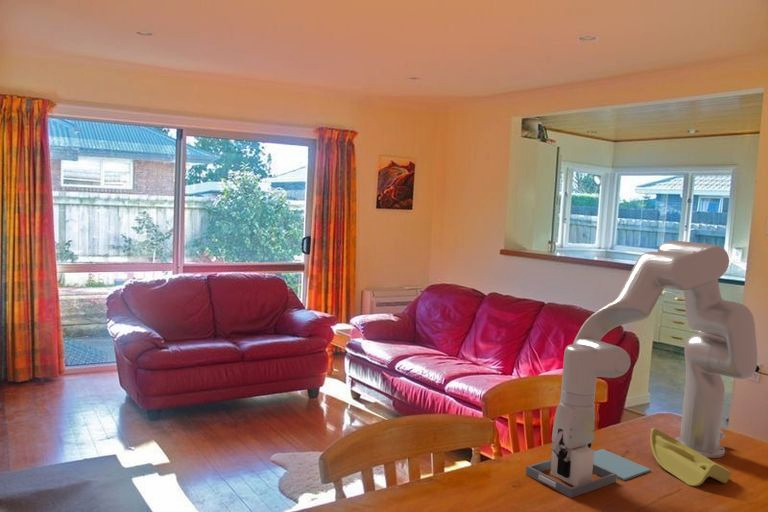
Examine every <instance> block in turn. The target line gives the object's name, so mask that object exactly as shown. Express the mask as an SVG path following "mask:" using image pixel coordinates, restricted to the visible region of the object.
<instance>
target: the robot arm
mask: <svg viewBox="0 0 768 512" xmlns="http://www.w3.org/2000/svg"><path fill="white" fill-rule="evenodd" d="M729 265H730V257H729V254H728V252H727V250H726V249H725V248H724V247H722V246H720V245H718V244H712V243H711V244H710V243H702V242H694V241H693V242H690V241H683V240H667V241H665V242H663V243H661V244H660V245H659V246H658V248H657V251H648V252H644V253H643V254H641V255H640V256H639V257H638V258H637V260H636V262H635V263H634V265H633V267H632V268H631V270H630V273H629V274H628V275H627V278H626V279H625V281H624V283H623V285H622V287H621V289H620V290H619V292H618V294H617V296H616V297H615V298H614V300H613V301H611V302H610V303H608V304H605V306H602V307H601V308H599V310H597V311H596V312H595V313H593V314H591V315H590V316H589V317H588V318H587V319H585V321H584V323H582V325H581V327H580V329H579V330H578V333H577V334H576V336H575V338H574V340H573V343H572V344H568V345H567V346H566V347H565V349H564V351H563V352H564V354H563V364H562V365H563V366H562V374H561V375H562V377H561V391H560V400H559V403H558V404H557V407H556V410H555V414H554V419H553V427H552V434H551V441H552V444H551V446H550V449H551V451H552V450H553V451H554V452H555V454H556V456H557V458H558V466H557V473H558V474H559V475H561V476H563V477H565V478H569V475H570V463H571V461H569V458H570V454H571V450H572V449H573V448H577V447H580V446H586V447H589V448H591V447H592V445H593V443H594V442H595V441H596V436H595V424H596V416H595V411H596V410H595V398H596V397H595V396H596V384H597V378H609V379H616V378H620V377H621V376H624V375H625V374H626V373H628V371H629V369H630V368H631V363H632V362H631V357H630V354H629V353H628V352H627V351H626V350H625V349H623V348H622V347H620V346H618V345H614V344H611V343H607V342H605V341H601V340H602V339H603V337H604V336H606V334H607V333H608V332H610V331H612V330H613V329H615V328H617V327H620V326H623V325H628V324H632V323H636V322H641V321H645V320H646V319H647V318H649V317H650V315H651V313H652V311H653V310H654V308H655V306H656V304H657V301H658V300H659V298H660V296H661V294H662V293H663V291H664V290H665V289H671V290H675V291H676V290H677V291H683V299H684V306H685V313H686V314H685V315H686V319H687V320H686V321H687V324H688V327H690V329H692V330H693V331H696V332H699V333H696V334H693V335H691V336H689V337H688V339H686V342H685V345H684V362H685V382H684V383H685V384H684V393H683V403H682V411H681V412H682V413H681V423H680V433H679V436H677V437H674V439H675V440H677V441H679V442H681V443H682V444H684V445H686V446H688V447H689V448H691V449H693V450H694V451H696V452H698V453H700V454H701V455H703V456H705V457H706V458H708V459H717V458H719V459H720V458H722V457H724V456H725V454H726V450H725V448H724V447H723V446H722V445H720V440H722V439H724V438H725V437H726V433H725V432H724V431H722V430H721V428H722V420H723V418H722V417H723V409H724V400H725V393H726V392H725V390H726V389H725V384H724V380H723V378H722V376H725V377H729V378H733V379H735V380H736V379H737V380H747V379H749V378H751V377H752V376H753V375H754V373H755V371H756V369H757V367H758V346H757V336H756V335H757V333H756V325H755V317H754V316H753V315H754V314H753V313H752V311H751V310H750V308H748V306H746V305H745V304H743V303H739V302H736V301H731V300H725V299H724V298H723V297H722V294H721V288H720V283H719V279H720V278H721V277H723V276H724V275H725V274H726V272H727V271H728V268H729ZM721 375H722V376H721ZM564 443H565V445H564ZM563 449H566V453H564V452H563Z"/></svg>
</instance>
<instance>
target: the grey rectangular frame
mask: <svg viewBox="0 0 768 512" xmlns="http://www.w3.org/2000/svg"><path fill="white" fill-rule="evenodd" d="M551 459H552V458H551ZM551 459H548V460H544V461H540V462H537V463H533V464H531V465H530V464H529V465H527V466H526V467H525V475H526V476H528V477H530V478H532V479H534V480H535V481H538V482H540V483H541V484H544V485H545V486H547V487H549V488H550V489H552V490H555V491H557V492H559V493H561V494H563V495H564V496H566V497H568V498H570V499H572V498H575V497H577V496H580V495H584V494H586V493H590V492H592V491H596V490H597V489H600V488H603V487H607V486H609V485H612V484H614V483H617V477H616V476H617V474H616V473H613V472H611V471H609V470H607V469H604V468H602V467H600V466H598V465H596V464H593V472H592V474H595V475H597V476H599V478H595V479H592V481H589V482H586V483H583V484H580V485H577V486H572V487H571V486H569V485H567V484H566V483H563V482H561V481H560V480H557V479H555V478H553V477H551V476H549V475H547V474H545V473H543V472H544V471H547V470H551Z"/></svg>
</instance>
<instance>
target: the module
mask: <svg viewBox="0 0 768 512" xmlns="http://www.w3.org/2000/svg"><path fill="white" fill-rule="evenodd" d="M564 445H565V443H564ZM594 451H595V449H593V448H591V447H590V448H589V447H586V446H580V447H577V448H573V449H572V450H571V454H570V458H569V461H571V463H570V475H569V478H565V477H563V476H561V475H559V474H558V473H557V466H558V458H557V456H556V454H555V452H554V451H553V450H552V449H551V469H550V470H549V471H550V473H549V474H550V475H551V476H553V477H556V478H557V479H559V480H561V481H563V482H565V483H567V484H570V485H571V486H572V487H574V486H577V485H580V484H583V483H586V482H589V481H592V480H593V473H592V472H593V460H594ZM563 452H564V453H566V449H563Z"/></svg>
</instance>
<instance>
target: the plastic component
mask: <svg viewBox="0 0 768 512" xmlns="http://www.w3.org/2000/svg"><path fill="white" fill-rule="evenodd" d="M649 444H650V448H651V452H652V455H653V456H654V458H655V460H656V462H657V463H658V464H659V465H660V467H662V468H663V469H664V470H665V471H667V472H669V473H670V474H671V475H673V476H674V477H675V478H678V479H679V480H680V481H682V482H683V483H685V484H687V485H688V486H691V487H698V486H700V485H702V484H703V483H704V482H705V480H706V479H707V478H708V477H711V478H712V479H715V480H716V481H718V482H719V483H720V482H721V483H722V484H727V482H728V481H729V479H730V477H731V476H732V474H733V472H731V471H730V470H728V469H727V468H725V467H724V466H723V465H720V464H718V463H717V462H715V461H714V460H713V461H712V460H711V458H706V457H705V456H703V455H701V454H700V453H698V452H696V451H694V450H693V449H691V448H689V447H688V446H686V445H684V444H682V443H681V442H679V441H677V440H675V437H672V436H670V435H668V434H666V433H665V432H663V431H661V430H659V429H657V428H655V427H652V428H651V429H650V433H649Z"/></svg>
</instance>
